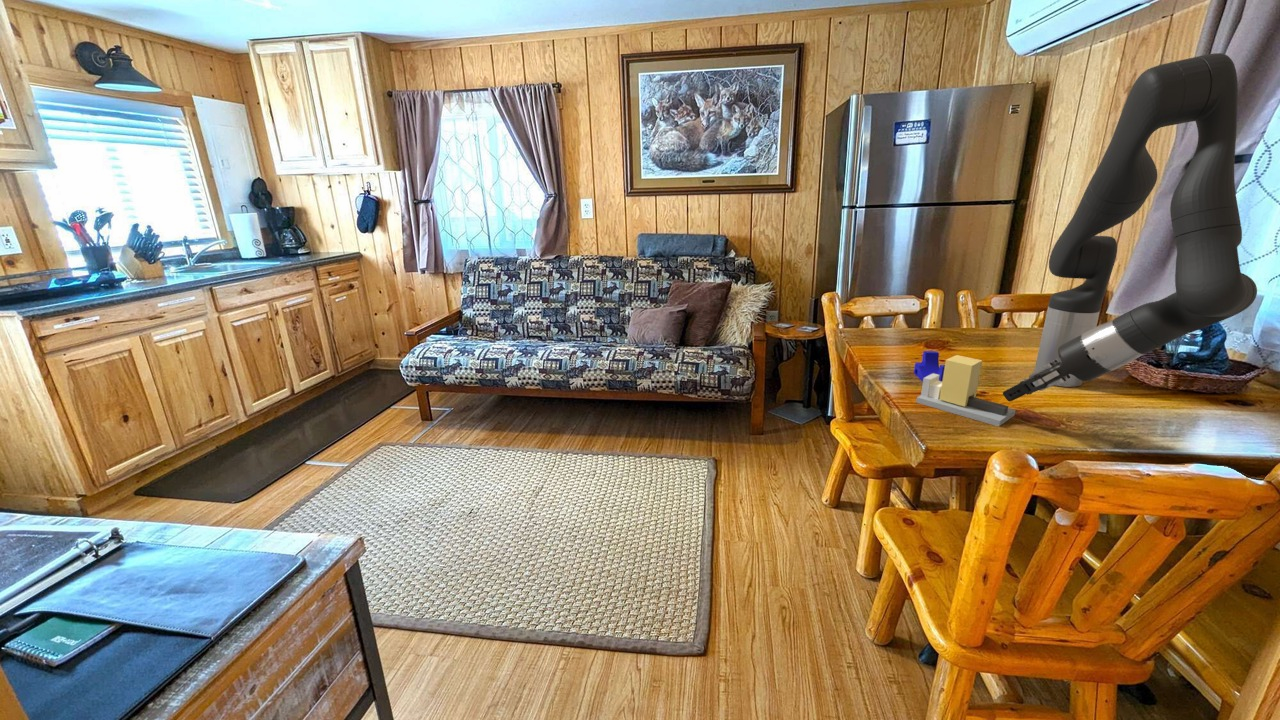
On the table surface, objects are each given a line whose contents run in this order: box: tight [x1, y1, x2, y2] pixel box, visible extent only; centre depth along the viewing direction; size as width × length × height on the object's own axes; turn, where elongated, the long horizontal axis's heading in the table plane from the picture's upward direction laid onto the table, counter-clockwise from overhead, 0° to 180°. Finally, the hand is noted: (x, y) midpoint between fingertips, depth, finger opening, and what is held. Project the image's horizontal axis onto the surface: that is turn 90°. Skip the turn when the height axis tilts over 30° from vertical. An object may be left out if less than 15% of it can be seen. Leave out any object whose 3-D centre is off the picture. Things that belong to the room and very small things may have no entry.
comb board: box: [915, 373, 1016, 427], centre depth 113 cm, size 8×16×5 cm, turn 38°
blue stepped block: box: [913, 350, 945, 383], centre depth 128 cm, size 12×4×6 cm, turn 172°
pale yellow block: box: [939, 354, 983, 407], centre depth 113 cm, size 5×5×9 cm
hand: (1006, 396), depth 106 cm, fingers closed
